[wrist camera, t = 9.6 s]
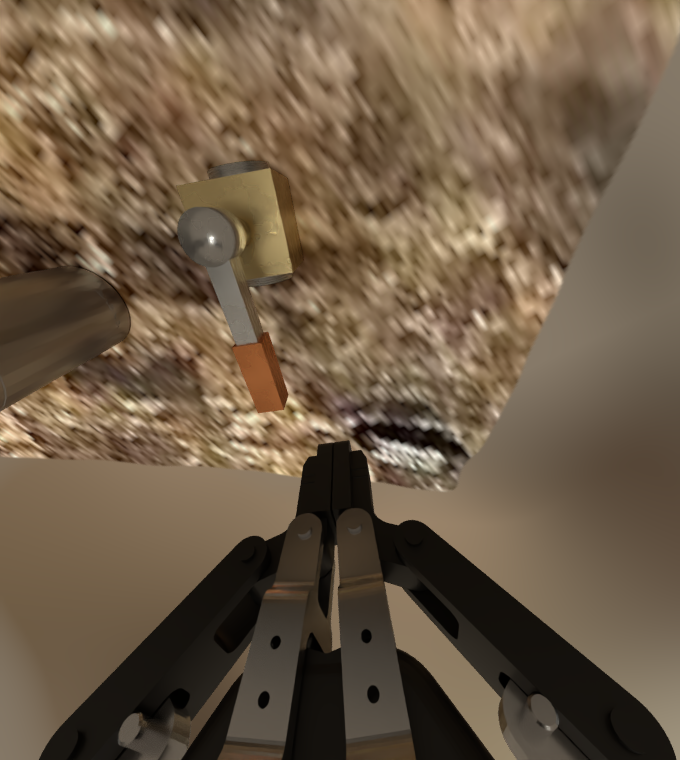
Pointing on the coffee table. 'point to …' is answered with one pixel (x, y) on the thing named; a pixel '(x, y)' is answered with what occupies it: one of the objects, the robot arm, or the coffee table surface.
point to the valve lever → (234, 299)
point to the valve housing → (254, 216)
